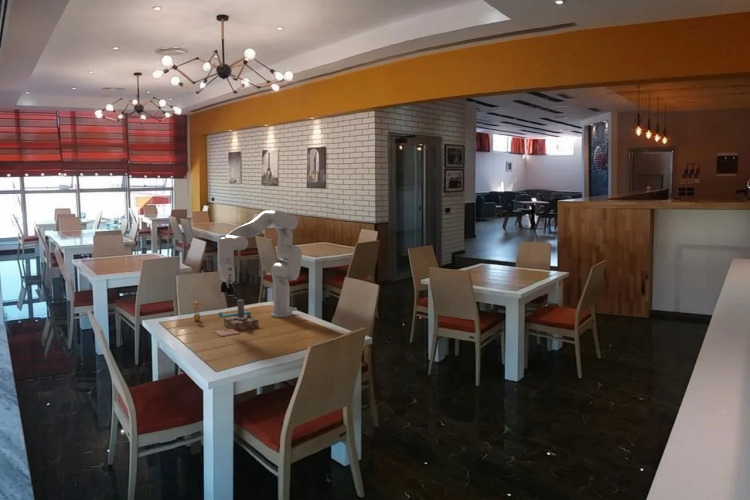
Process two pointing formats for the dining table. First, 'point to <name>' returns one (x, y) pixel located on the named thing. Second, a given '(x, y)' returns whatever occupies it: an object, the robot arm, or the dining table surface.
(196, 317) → the figurine
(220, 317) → the clip
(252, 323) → the socket block
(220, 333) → the tile
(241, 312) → the plug
